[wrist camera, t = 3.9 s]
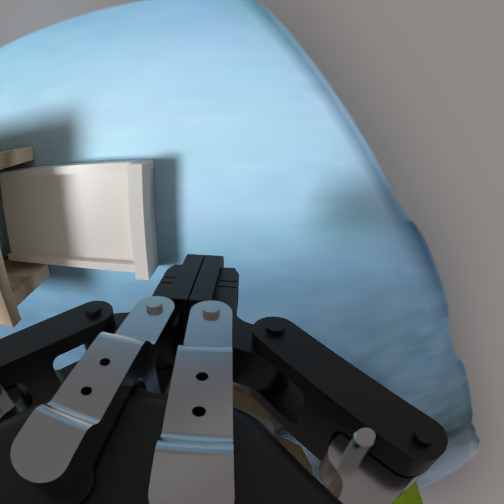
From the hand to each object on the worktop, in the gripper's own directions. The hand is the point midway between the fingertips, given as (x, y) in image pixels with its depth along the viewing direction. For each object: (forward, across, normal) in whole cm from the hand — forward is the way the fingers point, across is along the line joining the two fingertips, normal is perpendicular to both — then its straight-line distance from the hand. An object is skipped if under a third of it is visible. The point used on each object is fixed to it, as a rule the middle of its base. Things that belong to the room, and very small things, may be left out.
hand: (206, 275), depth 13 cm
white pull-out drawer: (+9, +13, 0) cm, 16 cm away
